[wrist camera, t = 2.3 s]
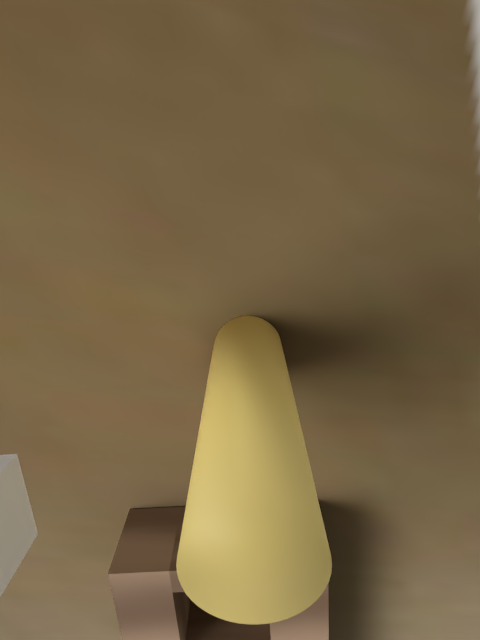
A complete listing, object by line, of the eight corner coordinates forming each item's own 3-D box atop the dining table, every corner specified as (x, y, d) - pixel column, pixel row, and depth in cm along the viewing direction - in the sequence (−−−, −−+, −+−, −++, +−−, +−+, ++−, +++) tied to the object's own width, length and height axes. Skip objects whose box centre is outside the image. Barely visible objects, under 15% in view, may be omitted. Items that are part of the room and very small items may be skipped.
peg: (211, 318, 20) (167, 509, 8) (280, 313, 20) (331, 500, 8) (216, 380, 21) (185, 627, 9) (282, 376, 21) (332, 621, 9)
